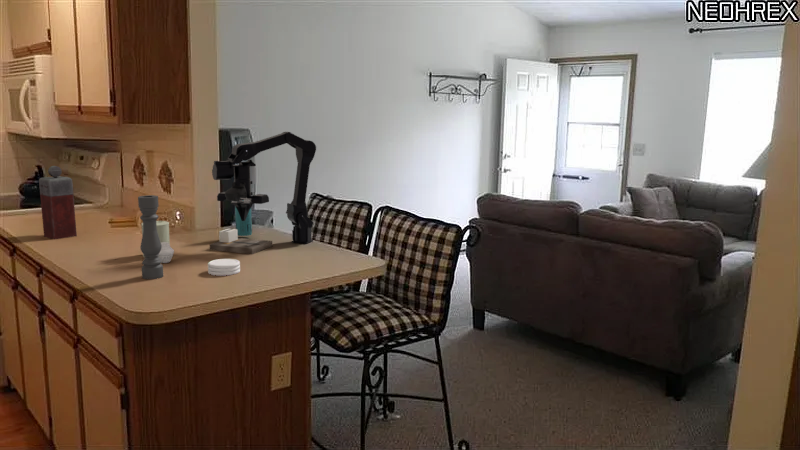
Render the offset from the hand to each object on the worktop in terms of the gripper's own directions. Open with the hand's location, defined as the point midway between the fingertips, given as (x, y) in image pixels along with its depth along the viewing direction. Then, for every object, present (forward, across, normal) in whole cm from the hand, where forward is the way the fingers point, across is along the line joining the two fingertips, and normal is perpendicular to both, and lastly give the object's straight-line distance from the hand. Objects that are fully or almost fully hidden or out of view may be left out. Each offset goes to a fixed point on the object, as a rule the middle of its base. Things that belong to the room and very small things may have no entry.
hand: (243, 220), depth 239 cm
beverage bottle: (+10, -10, +16) cm, 22 cm away
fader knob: (+8, -7, 0) cm, 11 cm away
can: (+11, -22, -21) cm, 32 cm away
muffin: (+11, -13, -28) cm, 33 cm away
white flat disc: (+11, +13, -32) cm, 36 cm away
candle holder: (+11, -4, -45) cm, 46 cm away
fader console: (+10, -1, 0) cm, 10 cm away
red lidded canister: (+11, -80, -8) cm, 81 cm away
